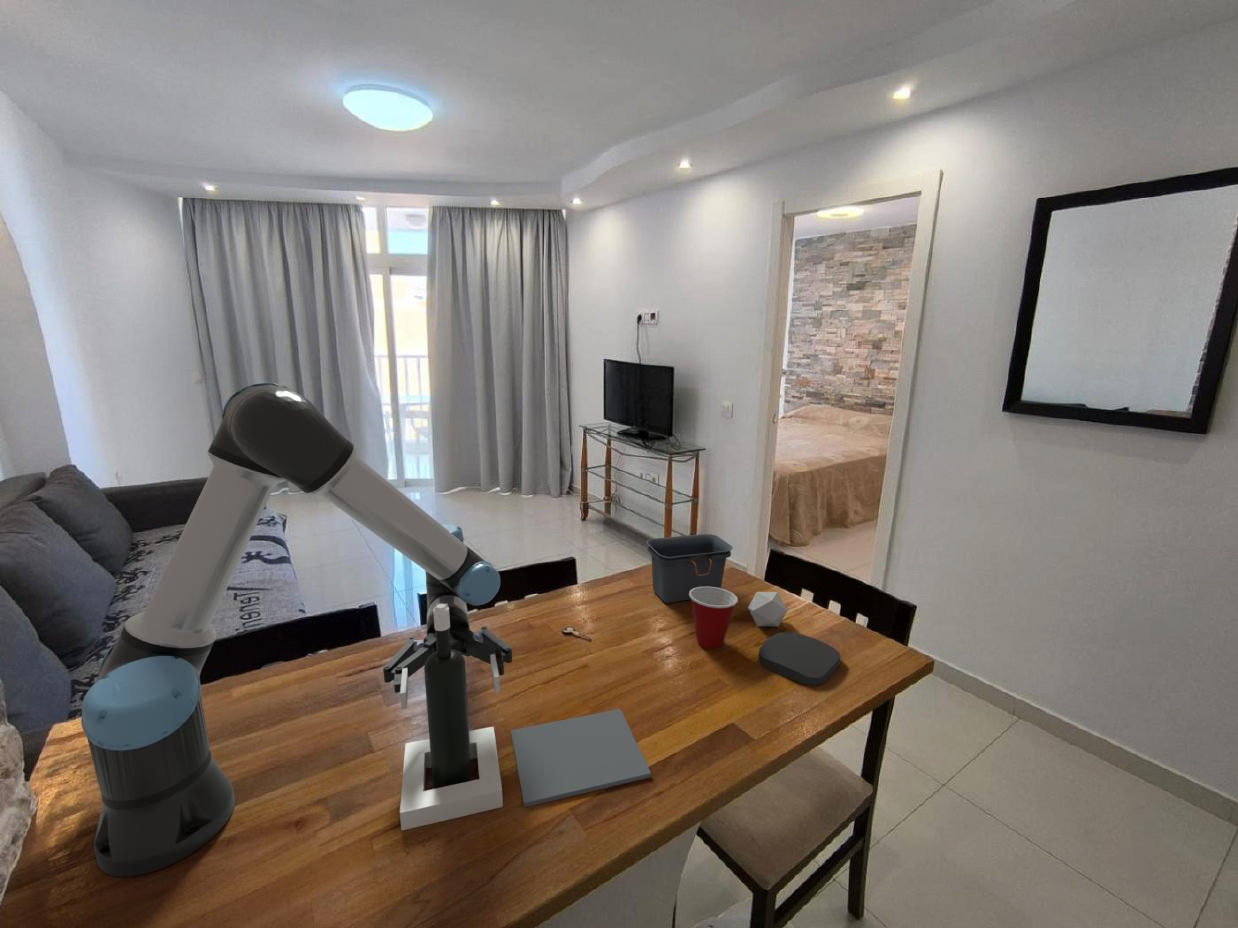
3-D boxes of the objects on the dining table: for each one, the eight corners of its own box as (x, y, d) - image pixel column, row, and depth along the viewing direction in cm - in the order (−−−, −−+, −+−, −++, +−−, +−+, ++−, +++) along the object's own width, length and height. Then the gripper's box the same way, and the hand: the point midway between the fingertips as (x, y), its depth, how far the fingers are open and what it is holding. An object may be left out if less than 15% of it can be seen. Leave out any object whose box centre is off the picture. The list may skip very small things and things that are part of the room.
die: (777, 639, 129) (798, 603, 130) (746, 619, 130) (766, 583, 131) (767, 633, 137) (787, 599, 139) (738, 614, 138) (757, 581, 139)
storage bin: (709, 578, 160) (712, 531, 156) (738, 602, 145) (741, 551, 142) (641, 588, 153) (642, 539, 149) (664, 614, 139) (666, 561, 135)
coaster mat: (524, 807, 82) (523, 802, 82) (511, 734, 97) (511, 730, 96) (650, 777, 88) (651, 772, 88) (620, 712, 103) (620, 708, 102)
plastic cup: (743, 642, 127) (747, 594, 124) (717, 661, 119) (720, 611, 116) (704, 625, 134) (706, 579, 131) (677, 642, 126) (679, 594, 123)
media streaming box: (817, 692, 110) (819, 679, 109) (751, 663, 119) (752, 650, 118) (845, 661, 120) (846, 649, 120) (782, 637, 130) (783, 625, 129)
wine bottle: (448, 803, 82) (435, 620, 75) (425, 784, 86) (411, 607, 79) (479, 779, 87) (470, 604, 80) (456, 762, 90) (445, 592, 83)
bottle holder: (401, 830, 78) (399, 812, 77) (406, 758, 91) (405, 743, 90) (502, 806, 82) (502, 789, 81) (494, 741, 95) (493, 726, 94)
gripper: (515, 632, 108) (533, 698, 89) (377, 652, 101) (364, 730, 81) (514, 596, 107) (532, 657, 87) (374, 615, 99) (359, 685, 79)
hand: (451, 692), depth 84 cm, fingers open, 13 cm apart
